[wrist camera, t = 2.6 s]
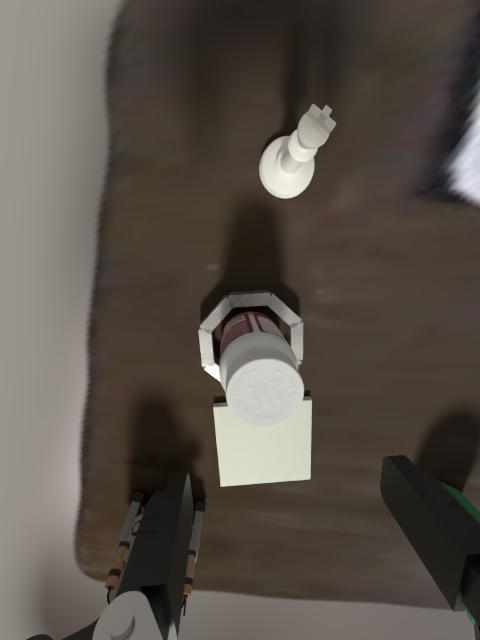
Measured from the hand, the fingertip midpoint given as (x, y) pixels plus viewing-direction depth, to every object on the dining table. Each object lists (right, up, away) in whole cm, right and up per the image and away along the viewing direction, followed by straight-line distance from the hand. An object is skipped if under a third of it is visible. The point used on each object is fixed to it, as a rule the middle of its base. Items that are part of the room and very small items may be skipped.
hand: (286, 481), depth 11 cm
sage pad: (+1, -8, +20) cm, 22 cm away
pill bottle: (-1, +5, +17) cm, 18 cm away
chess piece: (+2, +20, +13) cm, 24 cm away
